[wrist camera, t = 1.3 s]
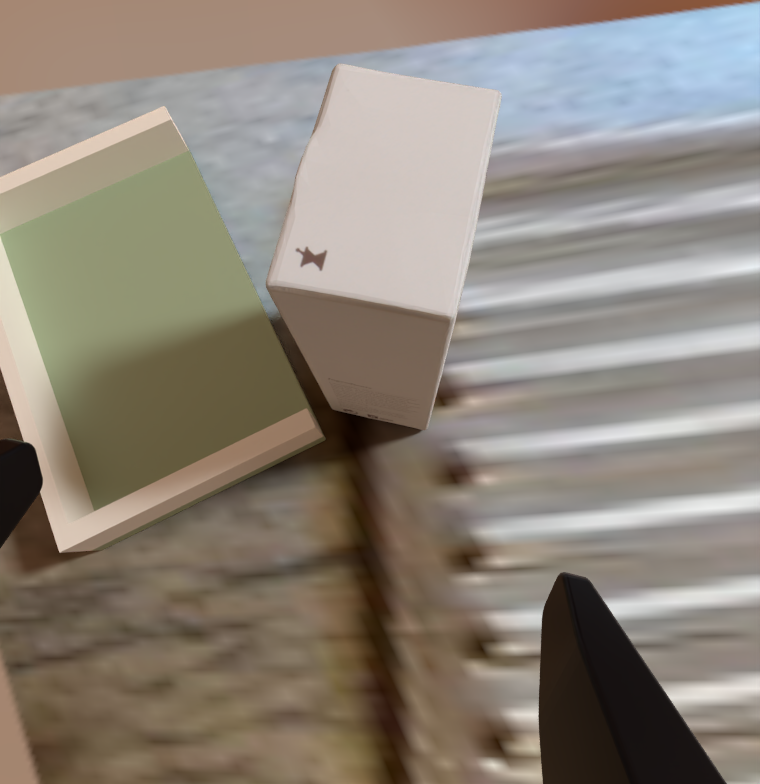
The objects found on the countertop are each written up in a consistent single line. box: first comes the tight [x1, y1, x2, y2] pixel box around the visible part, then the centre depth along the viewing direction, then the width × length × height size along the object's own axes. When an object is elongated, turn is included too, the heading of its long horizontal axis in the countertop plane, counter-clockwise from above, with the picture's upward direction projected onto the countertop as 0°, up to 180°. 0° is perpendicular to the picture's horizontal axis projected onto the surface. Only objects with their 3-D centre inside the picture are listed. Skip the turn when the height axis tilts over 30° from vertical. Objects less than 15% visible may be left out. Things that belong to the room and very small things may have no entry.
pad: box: [0, 106, 326, 553], centre depth 23 cm, size 16×10×3 cm, turn 26°
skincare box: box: [266, 64, 502, 430], centre depth 18 cm, size 6×4×12 cm
